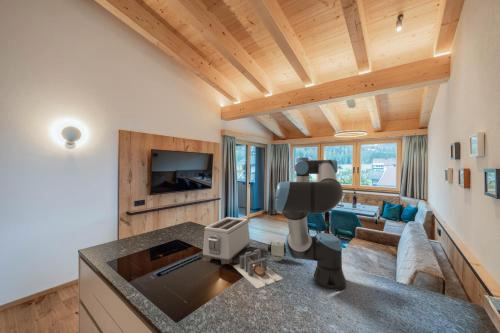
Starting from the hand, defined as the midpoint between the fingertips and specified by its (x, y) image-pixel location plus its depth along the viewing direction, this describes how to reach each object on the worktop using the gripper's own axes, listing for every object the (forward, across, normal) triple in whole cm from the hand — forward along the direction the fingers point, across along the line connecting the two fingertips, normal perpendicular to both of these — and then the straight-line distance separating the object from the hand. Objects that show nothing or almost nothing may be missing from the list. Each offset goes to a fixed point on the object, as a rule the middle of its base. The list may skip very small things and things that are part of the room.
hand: (303, 222), depth 125 cm
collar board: (+24, +5, +31) cm, 40 cm away
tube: (+23, +8, +31) cm, 40 cm away
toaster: (+25, +37, +34) cm, 56 cm away
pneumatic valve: (+25, +10, +12) cm, 29 cm away
